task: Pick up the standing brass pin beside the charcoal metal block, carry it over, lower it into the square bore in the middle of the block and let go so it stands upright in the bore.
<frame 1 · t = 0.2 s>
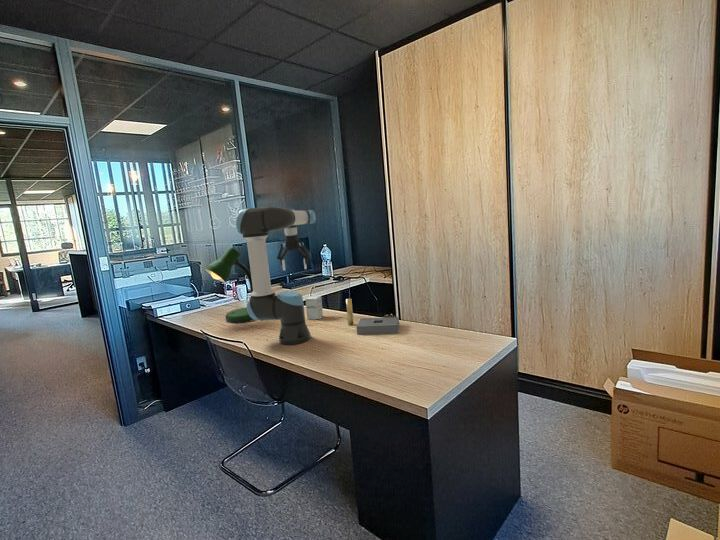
hand: (294, 269, 228), 28 cm above the table, tool pointing down, fingers open, 13 cm apart
supplement box: (315, 318, 220), on the table
bore block: (378, 329, 188), on the table
desk lamp: (238, 319, 231), on the table
brass pin: (350, 324, 200), on the table
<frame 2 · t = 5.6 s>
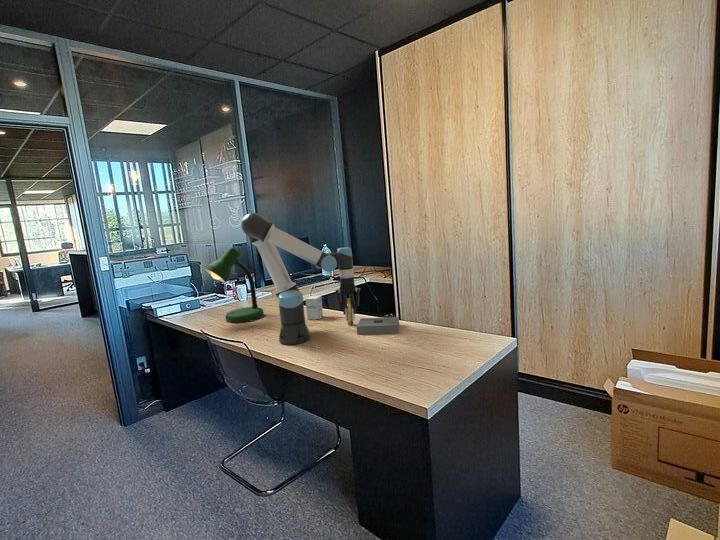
hand: (350, 319, 200), 3 cm above the table, tool pointing down, fingers closed on brass pin, 3 cm apart
brass pin: (350, 324, 200), on the table, touching gripper
everything else where it was.
when the fingers open (5 cm above the table, at t = 11.2 s): brass pin stays where it is, resting in bore block.
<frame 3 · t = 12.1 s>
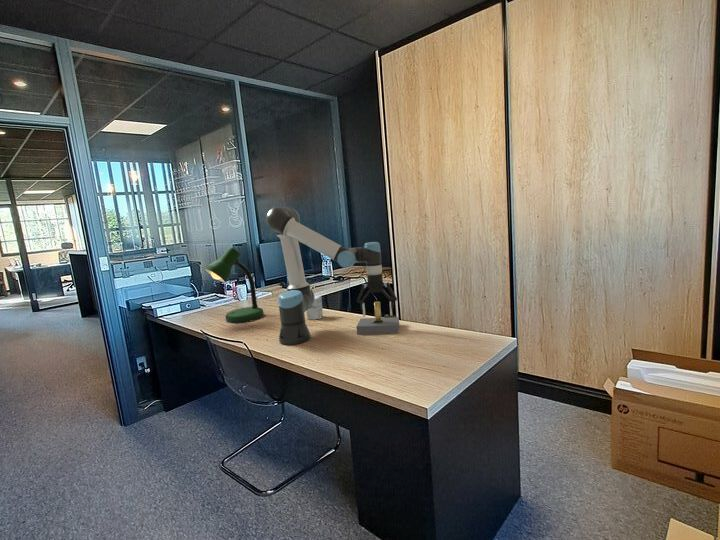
hand: (377, 315, 187), 7 cm above the table, tool pointing down, fingers open, 13 cm apart
brass pin: (379, 329, 188), resting in bore block
everything else where it was.
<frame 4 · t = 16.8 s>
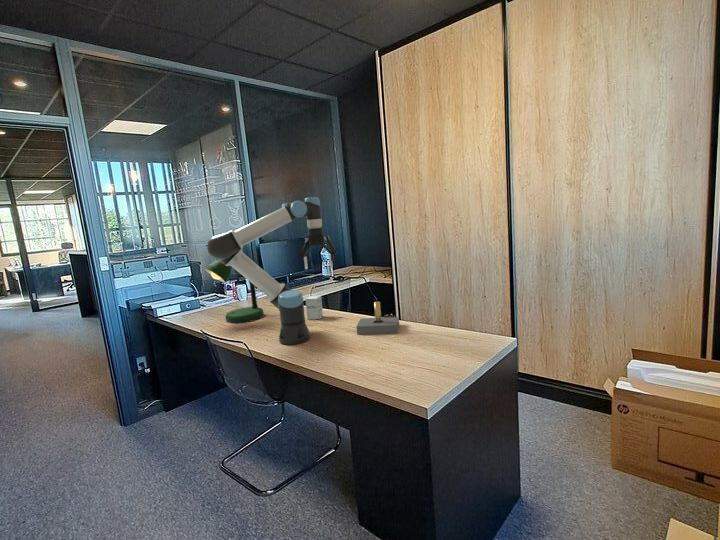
hand: (318, 268, 196), 32 cm above the table, tool pointing down, fingers open, 13 cm apart
nothing on the table moved.
at the end: brass pin 0.1 cm off-centre on the bore block, point 0.0 cm above the bore block's base; brass pin tilted 0°; the gripper is holding nothing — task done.
